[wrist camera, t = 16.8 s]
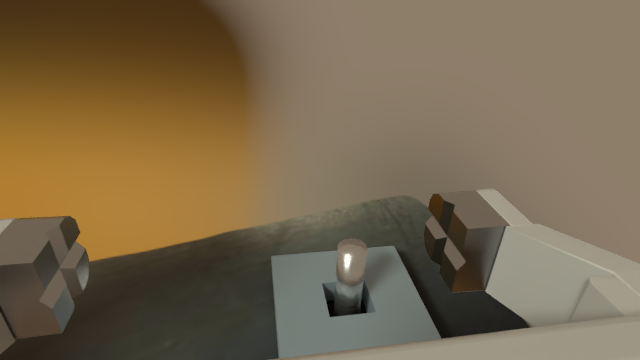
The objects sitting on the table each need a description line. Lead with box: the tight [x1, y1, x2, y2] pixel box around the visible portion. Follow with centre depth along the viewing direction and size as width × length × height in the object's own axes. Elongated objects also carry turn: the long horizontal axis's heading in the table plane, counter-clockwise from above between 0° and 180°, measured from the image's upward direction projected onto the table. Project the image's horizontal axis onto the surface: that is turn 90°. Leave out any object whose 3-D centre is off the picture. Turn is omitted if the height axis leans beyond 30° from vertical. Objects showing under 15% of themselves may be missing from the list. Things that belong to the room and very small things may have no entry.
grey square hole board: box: [271, 246, 441, 358], centre depth 44 cm, size 16×16×3 cm
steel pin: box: [333, 238, 367, 317], centre depth 43 cm, size 3×3×10 cm
